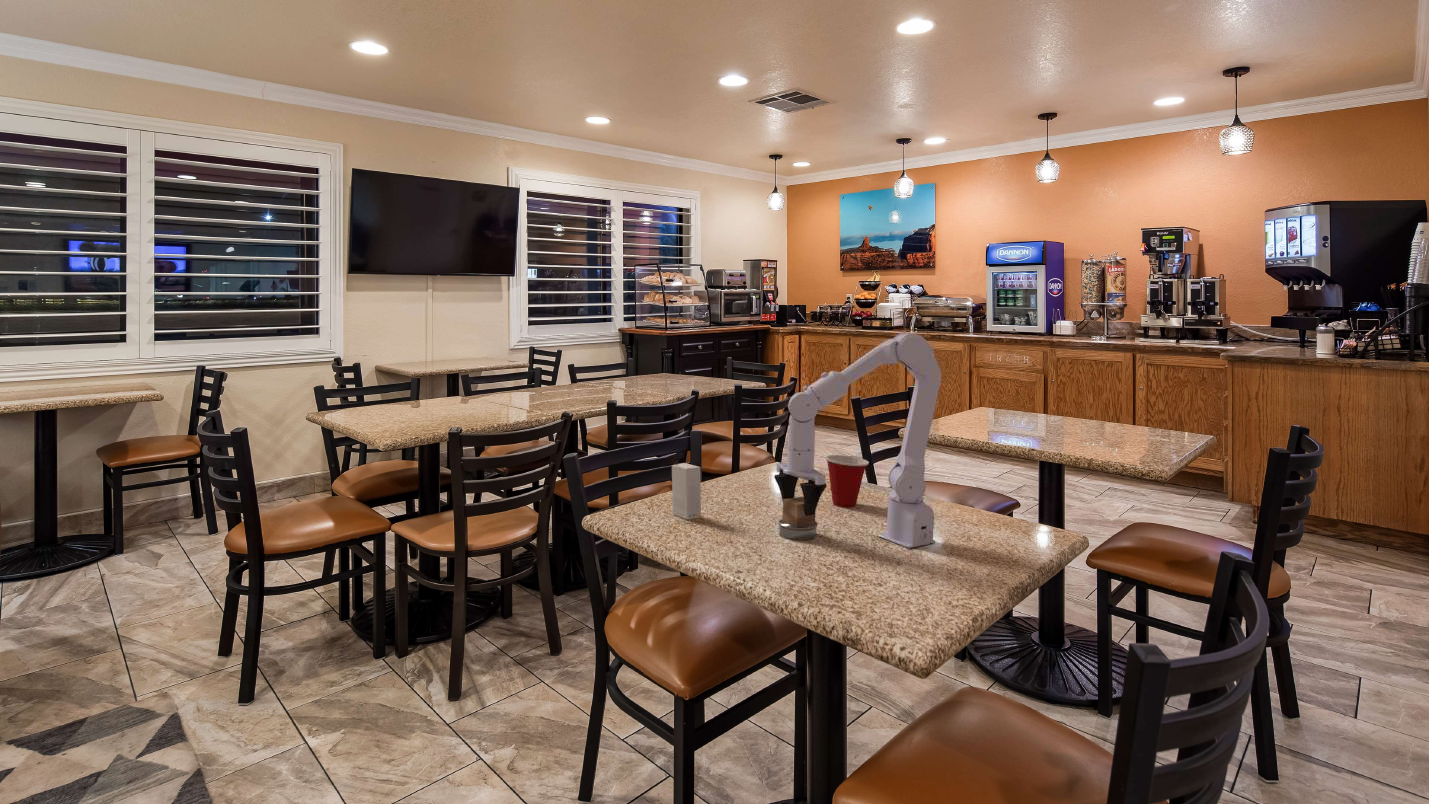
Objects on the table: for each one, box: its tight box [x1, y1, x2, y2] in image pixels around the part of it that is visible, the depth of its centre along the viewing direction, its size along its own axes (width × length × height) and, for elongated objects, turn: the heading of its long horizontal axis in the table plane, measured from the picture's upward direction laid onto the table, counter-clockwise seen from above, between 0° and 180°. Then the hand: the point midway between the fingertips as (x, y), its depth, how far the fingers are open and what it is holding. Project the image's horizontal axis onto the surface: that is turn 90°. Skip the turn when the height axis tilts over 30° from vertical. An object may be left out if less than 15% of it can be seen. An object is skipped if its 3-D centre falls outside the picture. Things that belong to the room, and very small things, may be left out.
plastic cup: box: [825, 454, 870, 508], centre depth 187 cm, size 11×11×12 cm
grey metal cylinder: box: [778, 518, 819, 542], centre depth 162 cm, size 8×8×3 cm
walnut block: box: [782, 496, 817, 527], centre depth 161 cm, size 5×5×5 cm
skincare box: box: [671, 462, 702, 521], centre depth 174 cm, size 6×4×12 cm
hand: (798, 510), depth 161 cm, fingers open, 7 cm apart
